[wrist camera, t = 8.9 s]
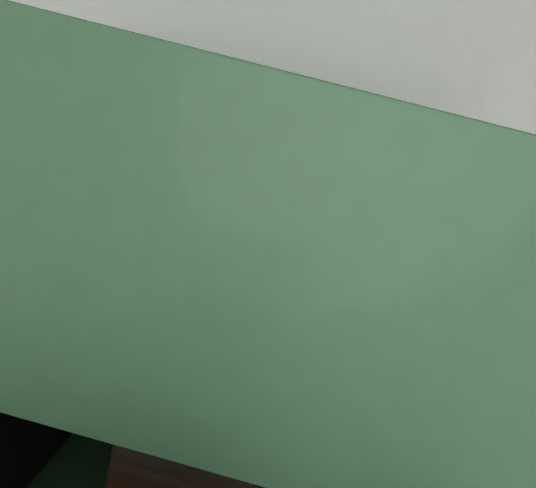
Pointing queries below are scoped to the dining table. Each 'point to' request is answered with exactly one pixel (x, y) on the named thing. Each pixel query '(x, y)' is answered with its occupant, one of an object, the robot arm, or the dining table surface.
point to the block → (160, 473)
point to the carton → (258, 269)
